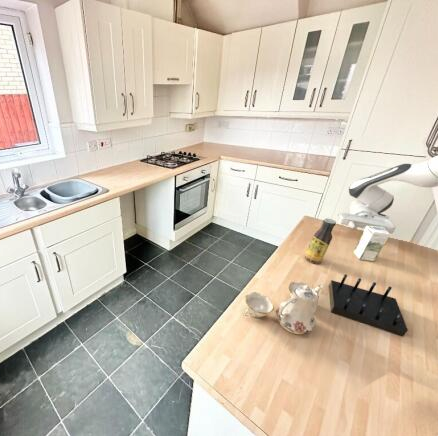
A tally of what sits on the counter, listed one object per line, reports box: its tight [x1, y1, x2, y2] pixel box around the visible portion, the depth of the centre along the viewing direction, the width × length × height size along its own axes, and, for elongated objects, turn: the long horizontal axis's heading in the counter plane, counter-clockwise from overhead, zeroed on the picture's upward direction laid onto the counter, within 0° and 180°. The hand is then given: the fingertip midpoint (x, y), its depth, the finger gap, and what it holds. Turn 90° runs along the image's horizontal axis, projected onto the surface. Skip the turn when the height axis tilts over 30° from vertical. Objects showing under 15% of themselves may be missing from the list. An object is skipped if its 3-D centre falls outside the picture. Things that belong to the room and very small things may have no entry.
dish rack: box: [328, 274, 409, 337], centre depth 80 cm, size 18×14×8 cm
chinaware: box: [243, 281, 323, 336], centre depth 77 cm, size 28×17×17 cm, turn 111°
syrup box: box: [353, 226, 391, 263], centre depth 102 cm, size 6×6×14 cm
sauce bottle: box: [304, 218, 337, 264], centre depth 100 cm, size 7×6×20 cm
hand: (367, 230), depth 109 cm, fingers open, 8 cm apart
